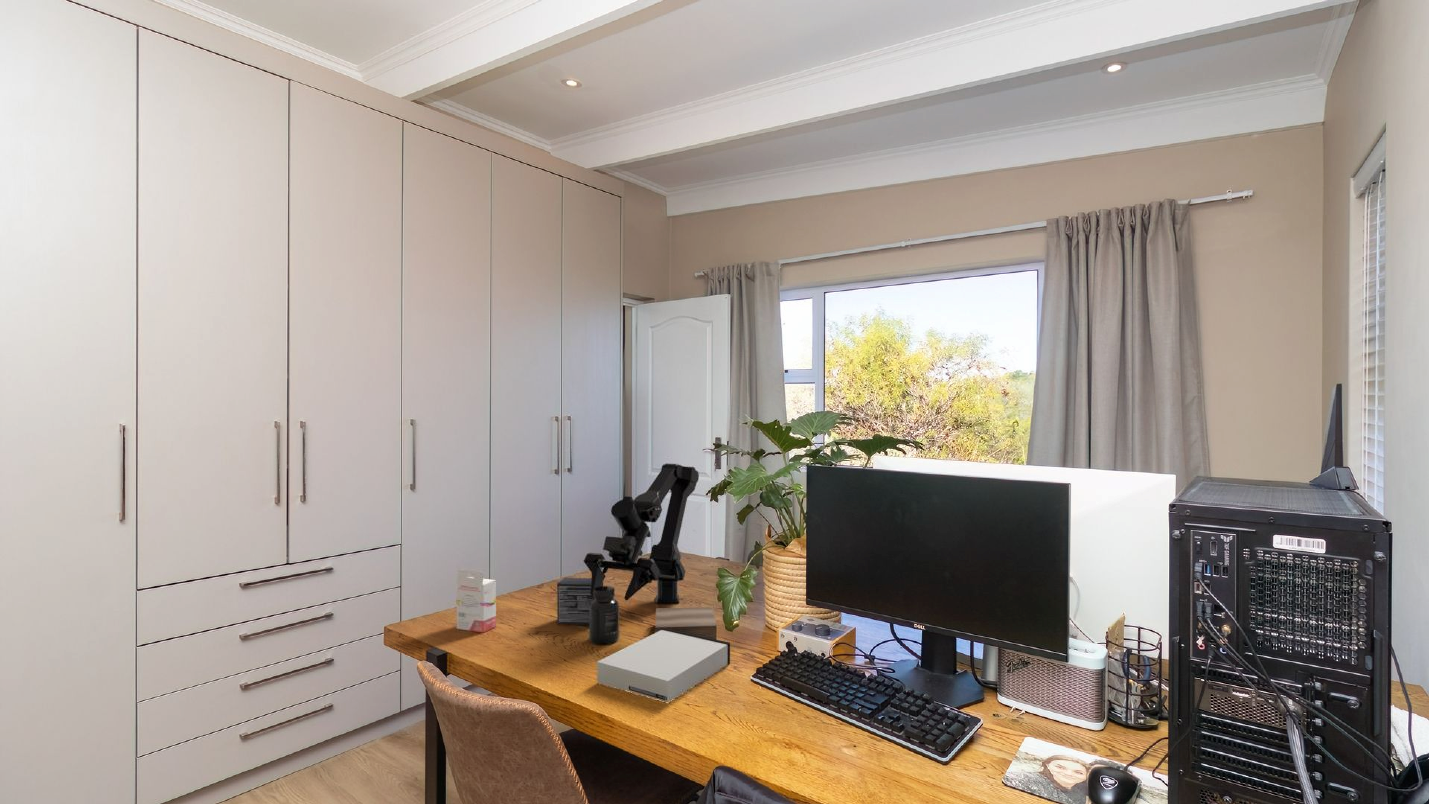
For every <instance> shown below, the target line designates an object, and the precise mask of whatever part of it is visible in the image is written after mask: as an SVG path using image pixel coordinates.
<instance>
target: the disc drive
mask: <svg viewBox="0 0 1429 804" xmlns="http://www.w3.org/2000/svg"><path fill="white" fill-rule="evenodd" d="M730 664H731V642H728V641H725V640H719V639H717V640H716V639H711V638H707V637H702V636H698V635H693V634H689V633H684V632H680V631H675V630H671V629H666V628H661V631H658V632H656V631H655V632H654V633H653V634H651V635H648V636H646V637H644V638H642V639H640V640H638V641H637V642H634V643H633V644H630V645H628V646H626V647H624V648H623V649H621V650H618V651H617V652H614V653H612V654H610V655H609V656H608V655H607V656H606V657H604V658H602V659H600V660H598V661H596V665H597V666H596V667H597V668H596V683H597V682H598V683H600V684H599V685H601V684H605V685H607V686H606V687H608V686H610V687H609V688H611V687H616V688H618V689H622V690H627V691H630V692H632V693H637V694H639V695H643V696H648V697H650V698H654V699H659V700H661V701H664V702H669V701H671V700H672V699H674V700H676V699H677V698H676V697H677V696H679V697H681V696H682V695H683V694H682V693H684V694H685V693H686V691H687V690H688V691H690V690H691V689H692V688H691V687H693V686H694V687H696V686H697V685H699V684H700V683H701V682H703V681H705V680H706V679H709V677H711V676H712V675H714V674H715V673H718V672H719V671H720V670H721V669H724V667H726V666H729V665H730ZM704 679H705V680H704ZM699 682H700V683H699ZM698 683H699V684H698ZM696 684H697V685H696ZM695 685H696V686H695ZM694 687H693V688H694ZM690 688H691V689H690ZM618 689H617V690H618ZM689 689H690V690H689ZM622 690H621V691H622ZM688 691H687V692H688ZM632 693H631V694H632ZM681 694H682V695H681ZM639 695H638V696H639ZM680 695H681V696H680ZM675 698H676V699H675ZM671 702H672V701H671Z"/></svg>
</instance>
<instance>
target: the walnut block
mask: <svg viewBox="0 0 1429 804" xmlns="http://www.w3.org/2000/svg"><path fill="white" fill-rule="evenodd" d="M661 628H666V629H671V630H675V631H680V632H684V633H689V634H693V635H698V636H702V637H707V638H711V639H716V640H718V639H717V629H718V627H717V622H716V618H715V614H714V610H713V607H712V606H705V607H703V606H702V607H701V606H700V607H663V608H660V607H659V608H658V607H657V608H656V609H655V633H656V632H658V631H661Z"/></svg>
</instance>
